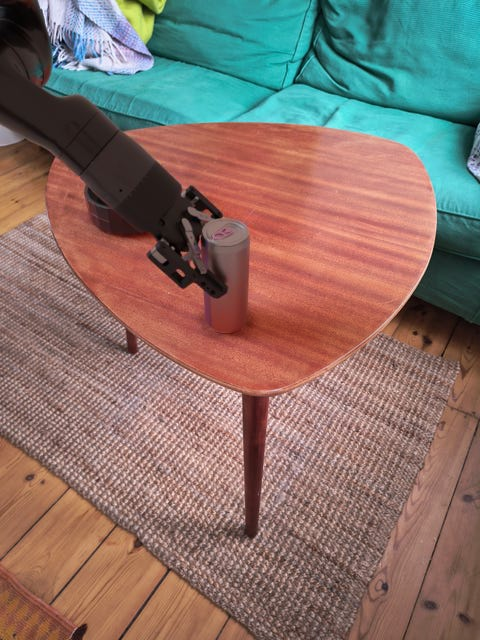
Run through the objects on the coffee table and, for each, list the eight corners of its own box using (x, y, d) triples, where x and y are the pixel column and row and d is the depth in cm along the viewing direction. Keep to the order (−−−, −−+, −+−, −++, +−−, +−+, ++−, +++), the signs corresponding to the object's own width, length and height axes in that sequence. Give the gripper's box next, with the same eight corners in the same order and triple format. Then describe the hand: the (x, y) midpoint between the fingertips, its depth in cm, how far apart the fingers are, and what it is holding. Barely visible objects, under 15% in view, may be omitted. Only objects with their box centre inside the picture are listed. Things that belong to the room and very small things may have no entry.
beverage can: (196, 320, 66) (189, 231, 55) (225, 300, 69) (224, 211, 58) (226, 342, 63) (225, 251, 52) (256, 319, 66) (260, 230, 56)
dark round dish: (88, 241, 79) (80, 212, 75) (93, 195, 90) (87, 168, 86) (177, 233, 81) (175, 205, 77) (172, 190, 92) (170, 163, 88)
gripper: (128, 195, 46) (240, 296, 53) (169, 135, 56) (260, 226, 63) (89, 234, 51) (198, 322, 57) (134, 172, 61) (222, 254, 67)
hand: (230, 272), depth 60 cm, fingers open, 8 cm apart
